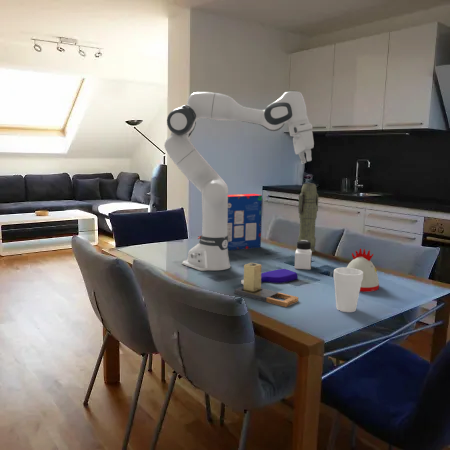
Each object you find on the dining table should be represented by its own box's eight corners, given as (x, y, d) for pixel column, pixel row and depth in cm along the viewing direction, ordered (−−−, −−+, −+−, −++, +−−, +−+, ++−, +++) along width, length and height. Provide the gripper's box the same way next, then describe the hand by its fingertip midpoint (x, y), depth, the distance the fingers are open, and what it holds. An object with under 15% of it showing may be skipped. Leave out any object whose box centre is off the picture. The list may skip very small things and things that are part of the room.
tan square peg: (243, 294, 169) (244, 264, 167) (250, 291, 172) (251, 262, 170) (253, 296, 166) (254, 266, 164) (260, 293, 170) (261, 264, 168)
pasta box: (252, 244, 254) (254, 193, 249) (260, 247, 247) (262, 195, 242) (206, 248, 242) (207, 195, 237) (213, 252, 235) (214, 197, 230)
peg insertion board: (234, 293, 169) (234, 289, 169) (247, 288, 175) (247, 284, 175) (286, 307, 156) (286, 302, 155) (298, 301, 162) (298, 297, 162)
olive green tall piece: (320, 251, 240) (323, 183, 234) (305, 254, 233) (308, 184, 227) (307, 248, 247) (310, 182, 241) (292, 250, 240) (294, 183, 234)
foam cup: (328, 304, 159) (330, 267, 157) (354, 303, 160) (356, 267, 158) (337, 314, 150) (339, 275, 148) (364, 313, 151) (367, 275, 148)
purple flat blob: (282, 267, 197) (235, 276, 183) (300, 273, 188) (252, 283, 174) (282, 274, 197) (235, 284, 184) (300, 280, 188) (252, 291, 175)
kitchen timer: (373, 294, 171) (376, 254, 169) (337, 287, 179) (339, 249, 176) (382, 284, 183) (385, 247, 180) (348, 279, 190) (350, 243, 188)
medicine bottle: (310, 269, 203) (312, 243, 201) (294, 268, 205) (295, 242, 203) (311, 265, 210) (312, 239, 208) (295, 264, 212) (296, 239, 210)
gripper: (287, 135, 203) (294, 166, 204) (297, 127, 183) (305, 161, 184) (301, 132, 204) (308, 163, 204) (313, 123, 183) (320, 158, 184)
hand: (306, 162), depth 194 cm, fingers open, 8 cm apart
